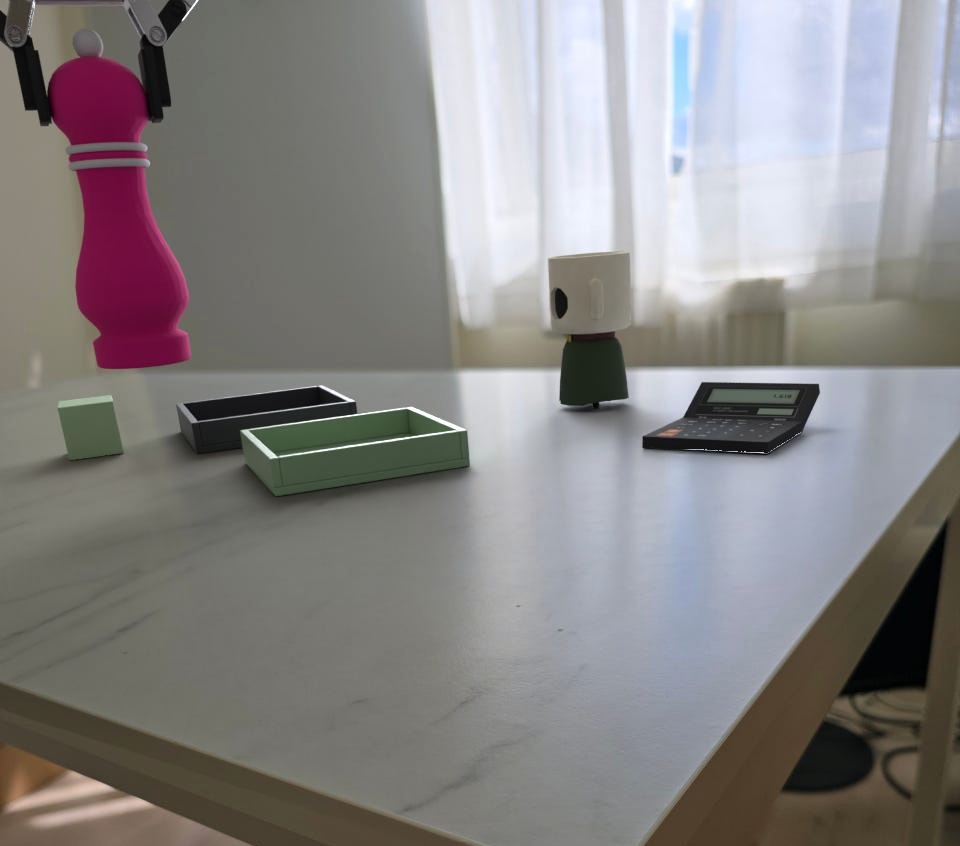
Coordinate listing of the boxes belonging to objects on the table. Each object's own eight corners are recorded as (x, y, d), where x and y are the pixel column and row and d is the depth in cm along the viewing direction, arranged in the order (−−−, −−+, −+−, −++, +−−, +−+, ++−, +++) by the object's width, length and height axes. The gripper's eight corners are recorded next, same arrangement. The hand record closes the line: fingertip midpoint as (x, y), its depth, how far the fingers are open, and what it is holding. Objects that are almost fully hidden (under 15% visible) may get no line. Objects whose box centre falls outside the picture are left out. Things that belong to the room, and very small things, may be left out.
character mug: (550, 400, 98) (543, 256, 93) (624, 394, 98) (621, 249, 93) (559, 420, 88) (552, 259, 83) (642, 413, 88) (639, 252, 83)
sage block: (69, 460, 87) (57, 407, 86) (69, 452, 91) (57, 401, 90) (123, 453, 89) (113, 400, 87) (121, 445, 93) (110, 394, 91)
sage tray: (275, 496, 69) (269, 458, 68) (245, 462, 81) (239, 430, 80) (470, 465, 74) (467, 430, 73) (415, 438, 85) (412, 406, 84)
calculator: (642, 448, 75) (641, 406, 74) (703, 418, 84) (703, 381, 83) (767, 454, 70) (768, 410, 69) (818, 422, 79) (820, 382, 78)
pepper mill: (124, 357, 74) (66, 42, 67) (216, 353, 73) (167, 31, 65) (68, 372, 68) (-4, 25, 60) (168, 368, 66) (106, 12, 59)
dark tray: (196, 454, 86) (191, 423, 85) (180, 431, 97) (175, 403, 96) (359, 430, 90) (356, 401, 89) (325, 411, 102) (322, 385, 101)
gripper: (186, -198, 64) (230, 124, 70) (-122, -219, 58) (-42, 132, 65) (201, -249, 57) (248, 112, 64) (-145, -277, 52) (-53, 120, 59)
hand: (101, 119), depth 64 cm, fingers closed on pepper mill, 6 cm apart
